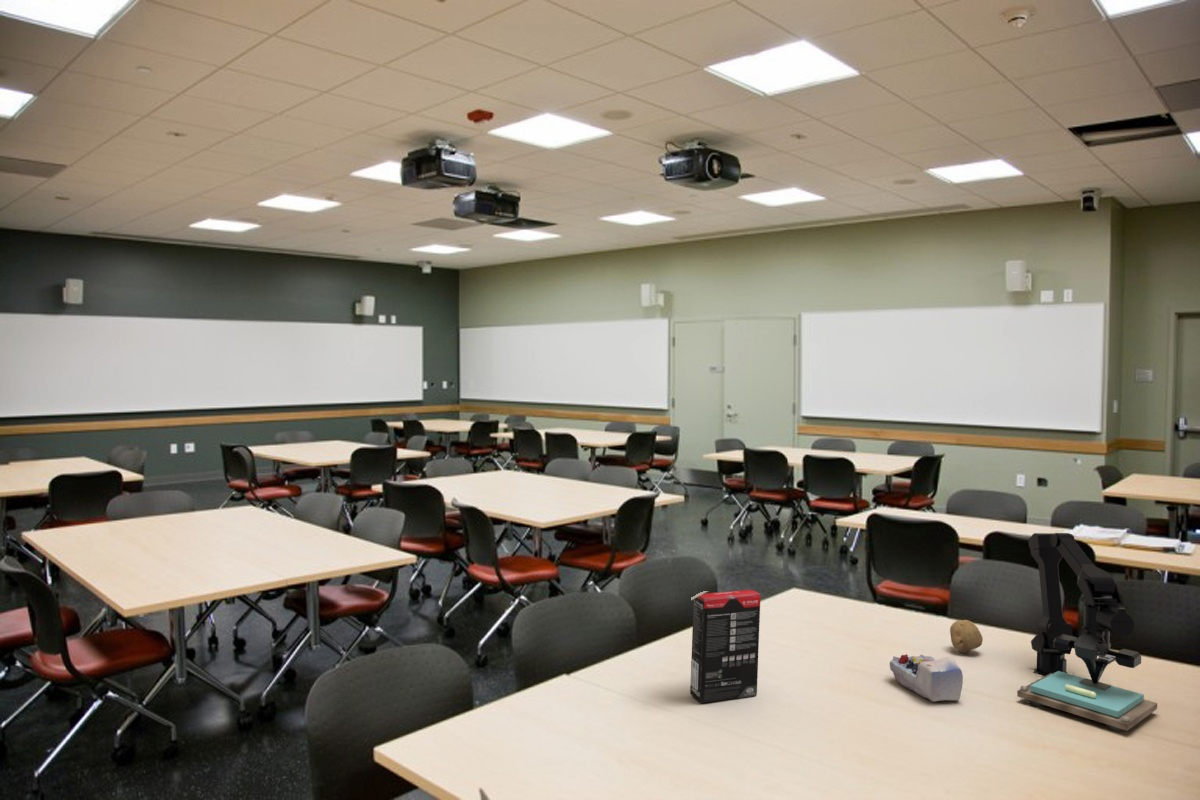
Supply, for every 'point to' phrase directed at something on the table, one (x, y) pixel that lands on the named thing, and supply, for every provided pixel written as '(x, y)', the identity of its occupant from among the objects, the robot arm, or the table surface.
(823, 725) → the table surface
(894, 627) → the table surface
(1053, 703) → the base
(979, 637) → the potato
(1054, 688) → the plate
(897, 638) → the table surface
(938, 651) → the table surface
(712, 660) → the graphics card box
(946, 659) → the cell model
